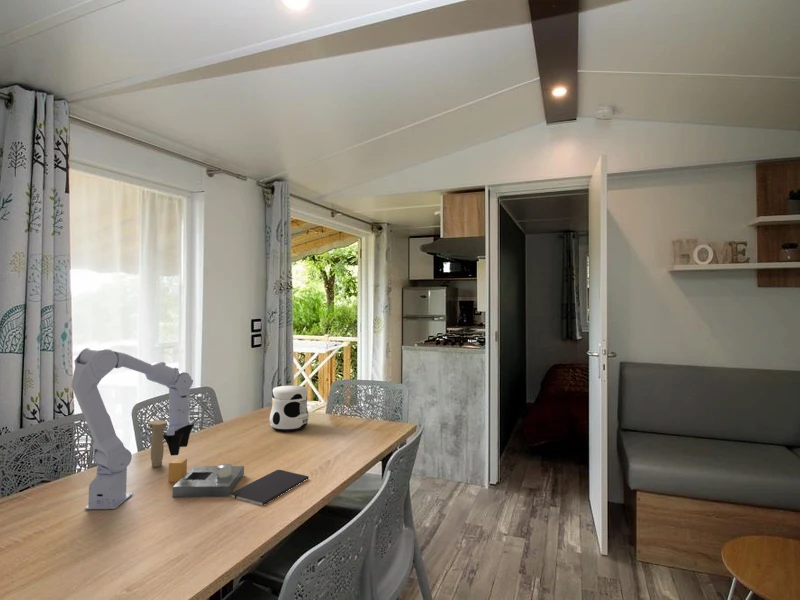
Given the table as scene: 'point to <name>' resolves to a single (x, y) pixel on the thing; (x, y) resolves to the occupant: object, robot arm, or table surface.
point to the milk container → (289, 408)
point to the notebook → (269, 487)
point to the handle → (157, 441)
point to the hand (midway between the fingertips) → (179, 450)
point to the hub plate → (209, 481)
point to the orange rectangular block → (177, 469)
